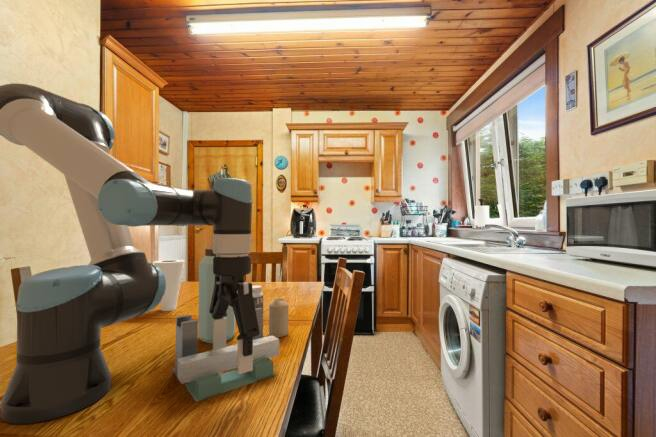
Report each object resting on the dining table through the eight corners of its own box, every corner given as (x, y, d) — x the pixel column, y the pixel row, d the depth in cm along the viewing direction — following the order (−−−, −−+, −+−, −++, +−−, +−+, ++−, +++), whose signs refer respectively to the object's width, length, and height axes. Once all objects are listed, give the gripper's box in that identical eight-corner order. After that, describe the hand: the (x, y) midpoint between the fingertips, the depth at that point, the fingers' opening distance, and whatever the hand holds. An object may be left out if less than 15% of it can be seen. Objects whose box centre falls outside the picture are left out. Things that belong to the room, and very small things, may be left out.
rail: (181, 383, 56) (181, 364, 56) (177, 377, 59) (177, 358, 59) (279, 355, 69) (279, 339, 69) (272, 350, 71) (272, 335, 71)
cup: (175, 313, 112) (176, 262, 112) (146, 313, 112) (146, 262, 112) (189, 305, 123) (189, 259, 123) (162, 305, 123) (162, 259, 123)
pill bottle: (266, 314, 111) (266, 286, 111) (254, 318, 106) (255, 288, 106) (255, 311, 114) (255, 284, 114) (243, 315, 109) (243, 287, 109)
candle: (279, 338, 87) (279, 302, 87) (265, 335, 90) (265, 300, 90) (292, 332, 92) (292, 298, 92) (277, 329, 95) (277, 296, 95)
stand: (179, 381, 63) (179, 323, 63) (172, 371, 68) (173, 317, 68) (264, 356, 75) (264, 308, 75) (254, 349, 79) (254, 303, 80)
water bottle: (224, 345, 82) (224, 250, 82) (190, 343, 84) (190, 249, 84) (242, 332, 92) (242, 247, 92) (211, 330, 94) (211, 246, 94)
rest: (195, 401, 56) (196, 384, 56) (185, 386, 61) (185, 370, 62) (275, 375, 66) (275, 360, 66) (260, 363, 71) (260, 350, 71)
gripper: (279, 259, 57) (277, 377, 56) (227, 249, 76) (226, 337, 76) (239, 262, 52) (237, 390, 52) (195, 251, 72) (194, 344, 71)
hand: (231, 359), depth 64 cm, fingers open, 13 cm apart
